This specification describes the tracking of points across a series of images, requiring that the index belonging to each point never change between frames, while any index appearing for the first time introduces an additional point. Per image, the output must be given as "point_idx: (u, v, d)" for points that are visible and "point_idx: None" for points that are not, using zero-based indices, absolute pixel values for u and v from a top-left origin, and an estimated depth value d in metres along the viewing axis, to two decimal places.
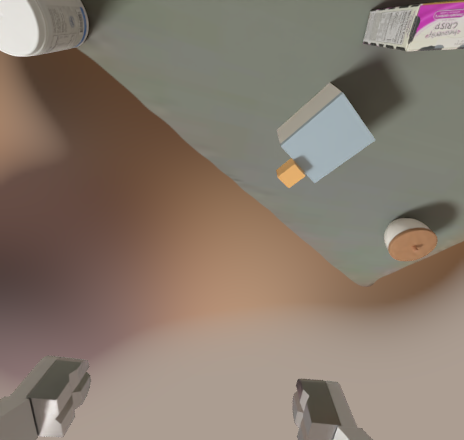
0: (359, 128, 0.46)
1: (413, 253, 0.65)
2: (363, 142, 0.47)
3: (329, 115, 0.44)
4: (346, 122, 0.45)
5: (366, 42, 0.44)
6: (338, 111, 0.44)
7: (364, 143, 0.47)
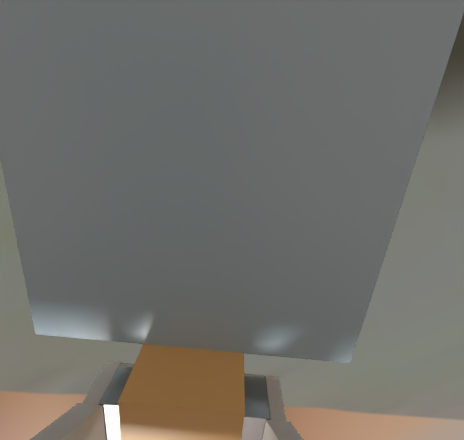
0: None
1: None
2: None
3: (37, 8, 0.06)
4: None
5: None
6: None
7: None
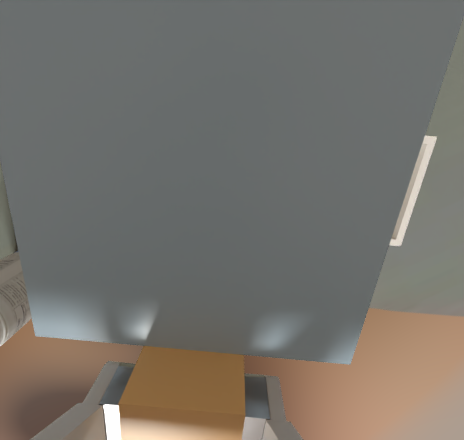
0: None
1: None
2: None
3: (37, 9, 0.06)
4: None
5: None
6: None
7: None
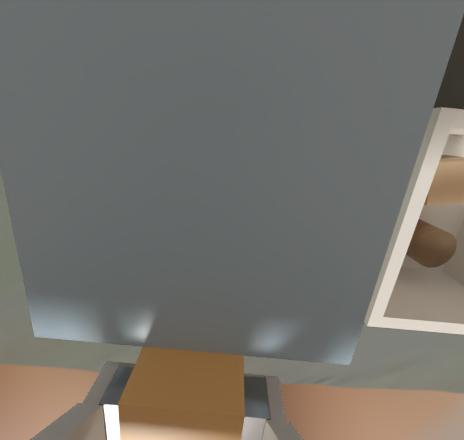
0: None
1: None
2: None
3: (36, 10, 0.06)
4: None
5: None
6: None
7: None
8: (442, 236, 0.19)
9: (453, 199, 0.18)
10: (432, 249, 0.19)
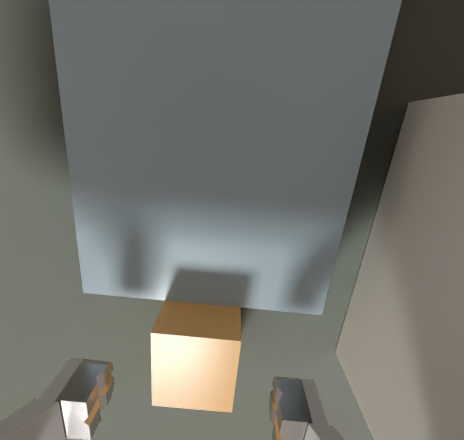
0: None
1: None
2: (362, 21, 0.08)
3: (100, 59, 0.09)
4: (193, 16, 0.08)
5: None
6: (111, 8, 0.08)
7: (370, 19, 0.08)
8: None
9: None
10: None
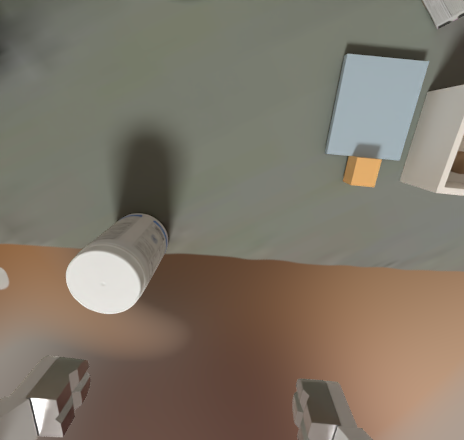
0: (397, 67, 0.34)
1: None
2: (416, 75, 0.35)
3: (352, 84, 0.35)
4: (377, 74, 0.35)
5: (446, 22, 0.33)
6: (358, 72, 0.35)
7: (418, 75, 0.35)
8: None
9: None
10: None
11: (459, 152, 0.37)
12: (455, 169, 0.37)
